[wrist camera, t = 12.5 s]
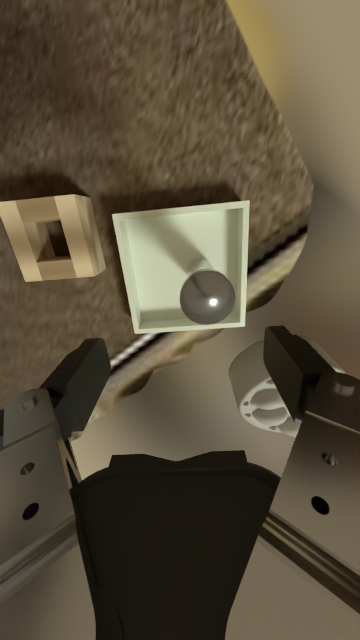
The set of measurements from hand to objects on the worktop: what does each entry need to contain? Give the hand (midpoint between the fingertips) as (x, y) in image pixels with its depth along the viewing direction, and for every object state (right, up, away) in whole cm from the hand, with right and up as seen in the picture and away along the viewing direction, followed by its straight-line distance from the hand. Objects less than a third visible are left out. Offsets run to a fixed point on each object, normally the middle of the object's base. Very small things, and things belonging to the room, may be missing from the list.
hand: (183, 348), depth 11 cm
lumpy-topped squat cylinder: (+14, -6, +23) cm, 28 cm away
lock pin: (+2, +8, +16) cm, 18 cm away
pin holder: (-14, +11, +16) cm, 24 cm away
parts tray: (0, +8, +17) cm, 19 cm away
